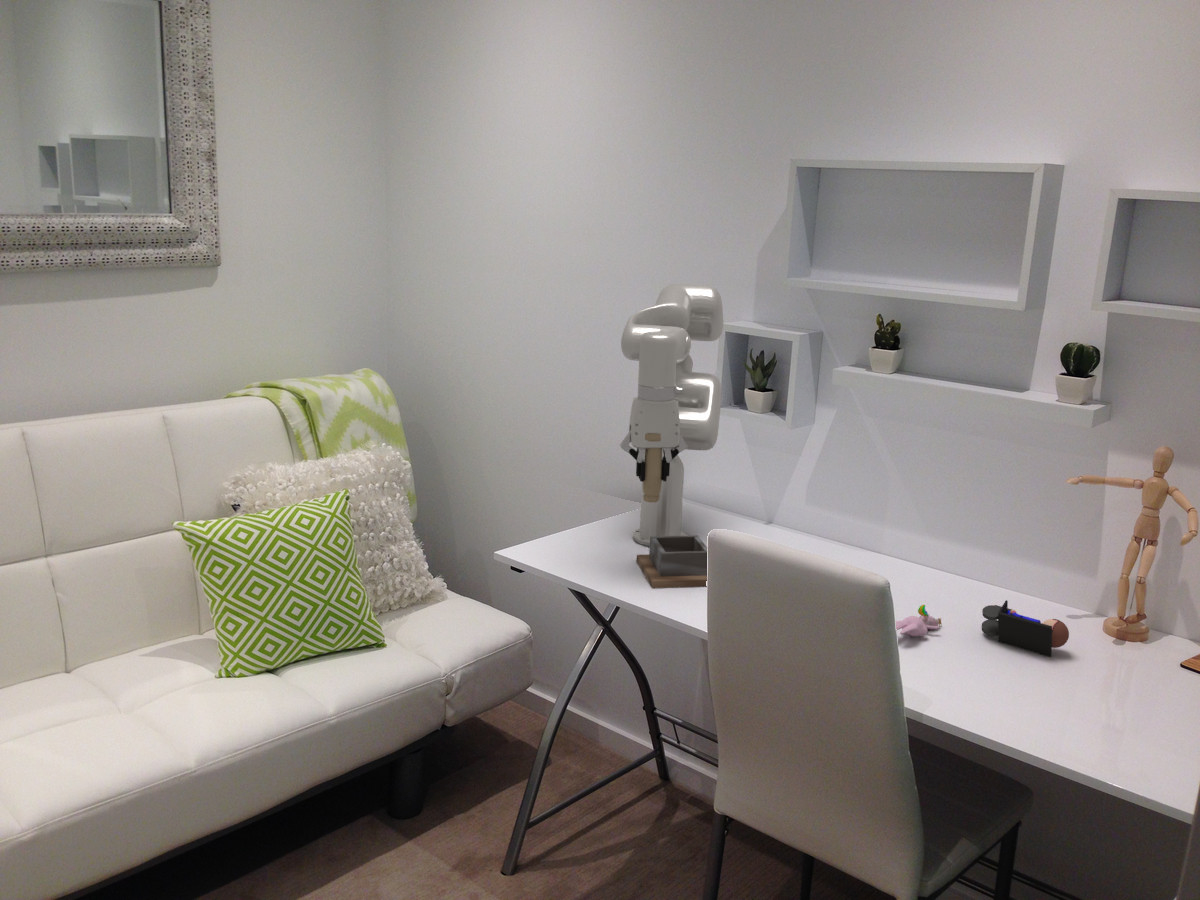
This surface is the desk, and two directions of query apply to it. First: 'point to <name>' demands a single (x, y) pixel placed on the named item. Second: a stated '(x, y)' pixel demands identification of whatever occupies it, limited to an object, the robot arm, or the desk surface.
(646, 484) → the handle
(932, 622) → the pink unicorn toy
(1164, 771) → the desk surface
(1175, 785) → the desk surface
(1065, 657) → the desk surface
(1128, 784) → the desk surface
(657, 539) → the stand
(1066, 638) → the character figurine
